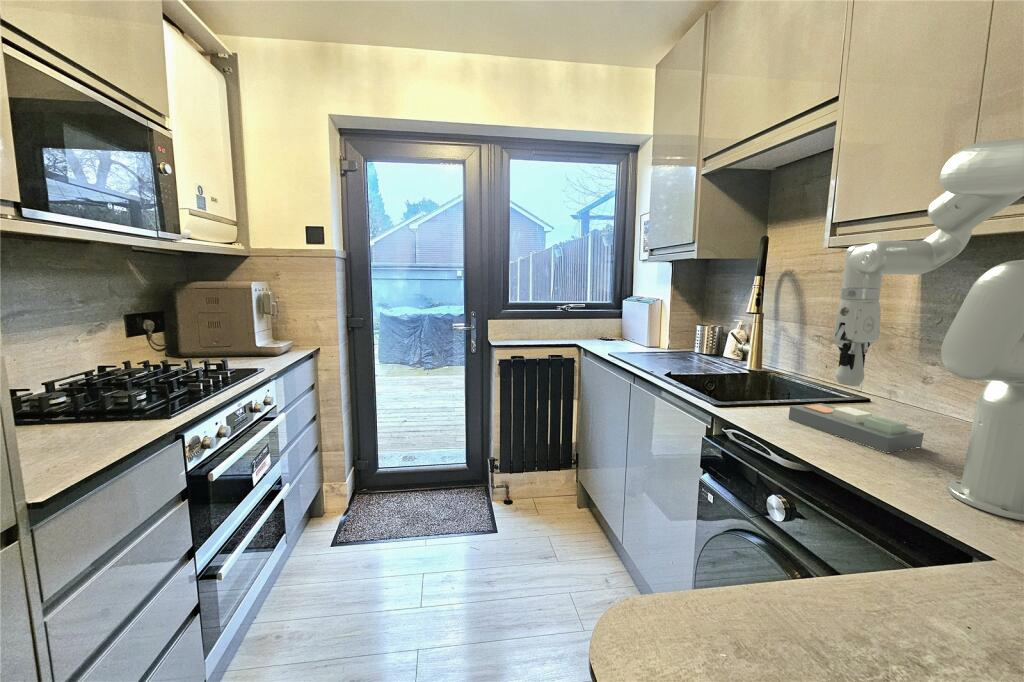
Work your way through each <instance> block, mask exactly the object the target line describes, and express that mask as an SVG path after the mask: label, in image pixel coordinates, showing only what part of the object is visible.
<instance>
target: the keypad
mask: <svg viewBox="0 0 1024 682" xmlns="http://www.w3.org/2000/svg"><path fill="white" fill-rule="evenodd" d="M811 405H822V406H826V407H829V408H832V409H834V408H837V407H836V406H832V405H830V404H829V405H828V404H826V403H822V402H821V403H810V404H802V405H800V404H799V405H791V406H789V411H788V420H790V421H794V422H796V423H799V424H801V425H805V426H806V427H807V426H808V427H810V428H813V429H815V428H816V429H815V430H818V429H819V431H821V430H822V432H824V431H825V432H824V433H827V432H828V434H830V433H831V434H830V435H833V434H834V435H833V436H835V435H837V436H836V437H838V436H840V437H839V438H841V437H843V438H842V439H844V438H846V439H845V440H847V439H849V440H848V441H850V440H852V441H855V442H858V443H861V444H864V445H867V446H870V447H873V448H875V449H878V450H881V451H884V452H886V453H885V454H888V453H887V452H893V451H899V452H901V451H900V450H905V449H910V450H912V449H911V448H916V447H921V448H922V445H923V439H924V436H925V435H924V433H925V432H923V431H918V430H915V429H911V428H908V427H907V429H906V433H899V434H892V435H890V434H887V433H883V432H880V431H877V430H874V429H871V428H867V427H864V423H858V424H855V423H851V422H848V421H845V420H842V419H839V418H835V417H832V413H831V414H823V413H820V412H816V411H813V410H810V409H807V408H804V407H805V406H811ZM852 441H851V442H852ZM855 442H854V443H855ZM858 443H857V444H858ZM861 444H860V445H861ZM864 445H863V446H864ZM867 446H866V447H867ZM870 447H869V448H870ZM875 449H874V450H875ZM916 449H917V448H916ZM878 450H877V451H878ZM881 451H880V452H881ZM905 451H906V450H905ZM884 452H883V453H884ZM893 453H894V452H893Z"/></svg>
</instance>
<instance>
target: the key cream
mask: <svg viewBox="0 0 1024 682" xmlns="http://www.w3.org/2000/svg"><path fill="white" fill-rule="evenodd" d="M872 415H873V414H872V413H871V412H867V411H864V410H862V409H861V410H860V409H859V408H858V409H857V408H854V407H850V406H845V407H844V406H843V407H836V408H834V409H833V413H832V417H835V418H839V419H842V420H845V421H848V422H851V423H855V424H858V423H864V420H865V418H869V417H873V416H872Z"/></svg>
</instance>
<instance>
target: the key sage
mask: <svg viewBox="0 0 1024 682" xmlns="http://www.w3.org/2000/svg"><path fill="white" fill-rule="evenodd" d="M864 427H867V428H871V429H874V430H877V431H880V432H883V433H887V434H890V435H892V434H899V433H906V429H907V428H908V423H907V422H903V421H899V420H896V419H892V418H889V417H886V416H882V415H877V416H872V417H869V418H865V420H864Z"/></svg>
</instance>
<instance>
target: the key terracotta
mask: <svg viewBox="0 0 1024 682" xmlns="http://www.w3.org/2000/svg"><path fill="white" fill-rule="evenodd" d="M804 408H807V409H810V410H813V411H816V412H820V413H823V414H831V413H833V409H832V408H829V407H826V406H822V405H811V406H805V407H804Z"/></svg>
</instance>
